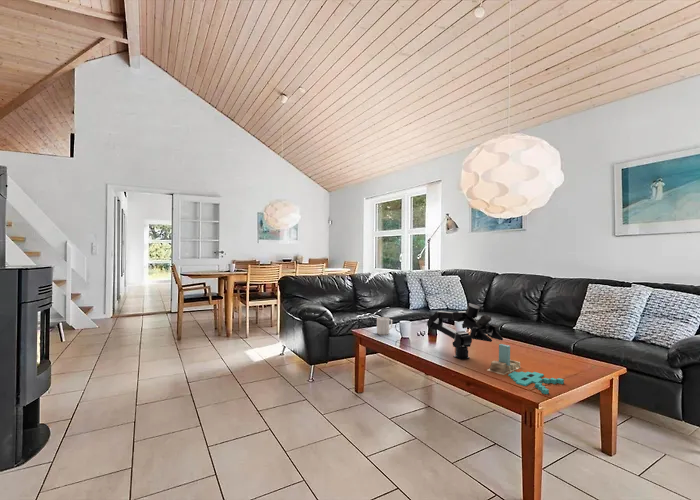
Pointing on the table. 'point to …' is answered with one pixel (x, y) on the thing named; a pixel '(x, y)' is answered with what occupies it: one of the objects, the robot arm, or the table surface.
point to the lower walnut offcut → (499, 369)
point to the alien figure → (534, 380)
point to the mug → (383, 325)
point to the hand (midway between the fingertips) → (497, 340)
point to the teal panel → (504, 354)
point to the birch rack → (510, 367)
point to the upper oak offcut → (498, 364)
